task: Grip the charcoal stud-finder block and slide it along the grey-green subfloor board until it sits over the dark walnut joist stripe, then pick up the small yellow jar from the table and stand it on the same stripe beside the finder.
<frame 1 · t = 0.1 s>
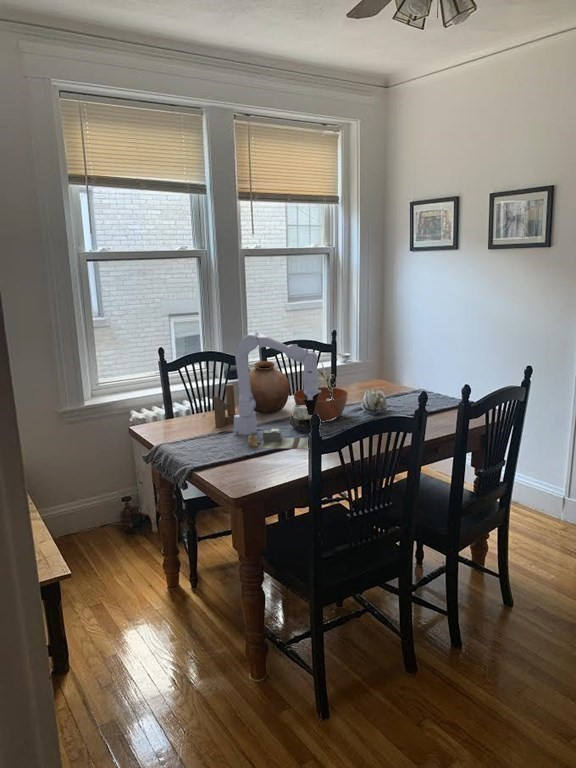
hand: (311, 412, 239), 10 cm above the table, tool pointing down, fingers open, 7 cm apart
bowl: (321, 418, 265), on the table
wooden block: (226, 424, 261), on the table
pottery: (266, 412, 276), on the table
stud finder: (272, 440, 233), point 1 cm above the table, touching subfloor board
subfloor board: (286, 445, 230), on the table
small yellow jar: (253, 448, 228), on the table
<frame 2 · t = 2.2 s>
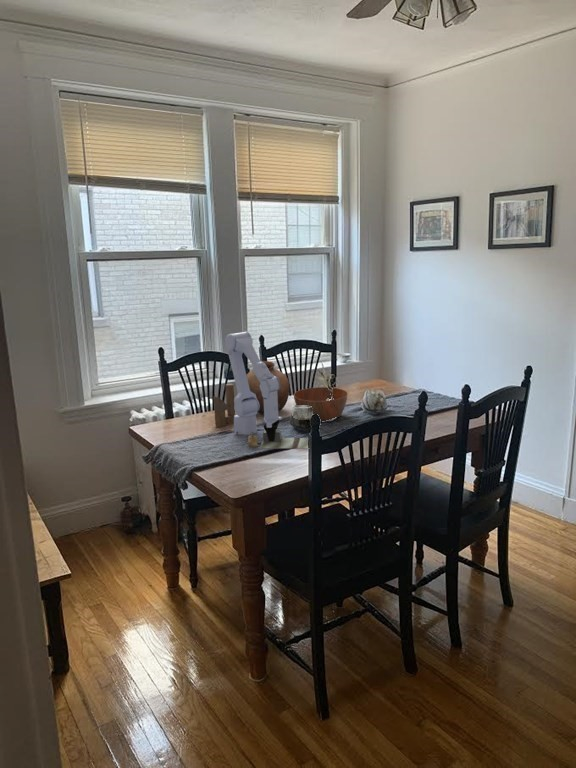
hand: (272, 438, 233), 2 cm above the table, tool pointing down, fingers closed on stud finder, 4 cm apart
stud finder: (272, 440, 233), point 1 cm above the table, touching gripper, subfloor board
everything else where it was.
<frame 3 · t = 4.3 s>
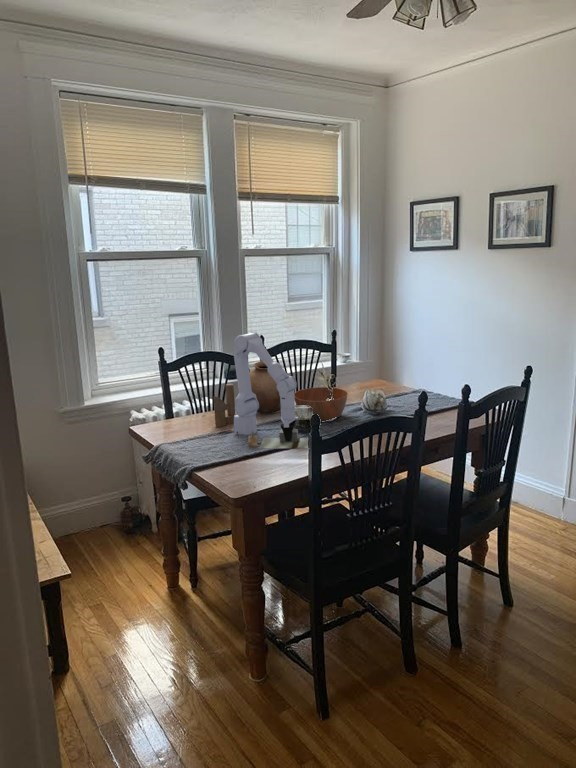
hand: (289, 438, 232), 2 cm above the table, tool pointing down, fingers closed on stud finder, 4 cm apart
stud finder: (289, 440, 232), point 1 cm above the table, touching gripper
everything else where it was.
when the fingers open (2 cm above the table, at t = 6.4 s): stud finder stays where it is, resting on subfloor board.
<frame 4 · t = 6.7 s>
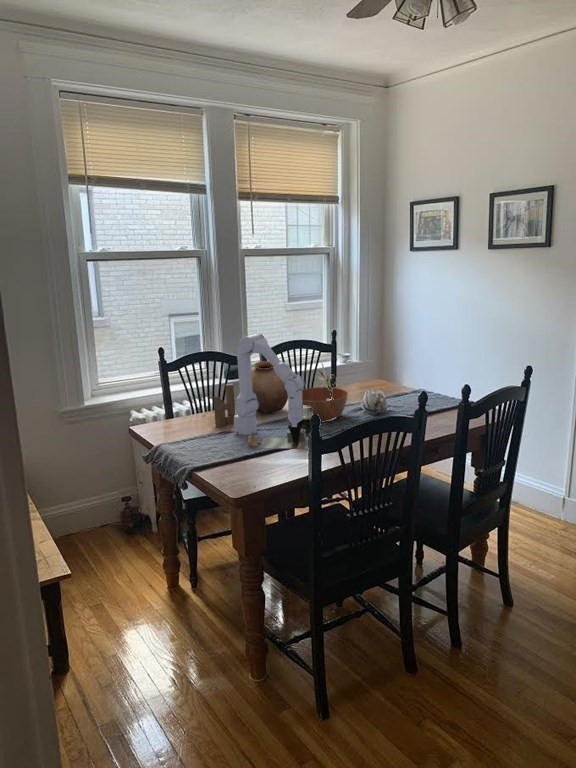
hand: (296, 438, 232), 2 cm above the table, tool pointing down, fingers open, 7 cm apart
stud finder: (296, 440, 232), point 1 cm above the table, touching subfloor board
everything else where it was.
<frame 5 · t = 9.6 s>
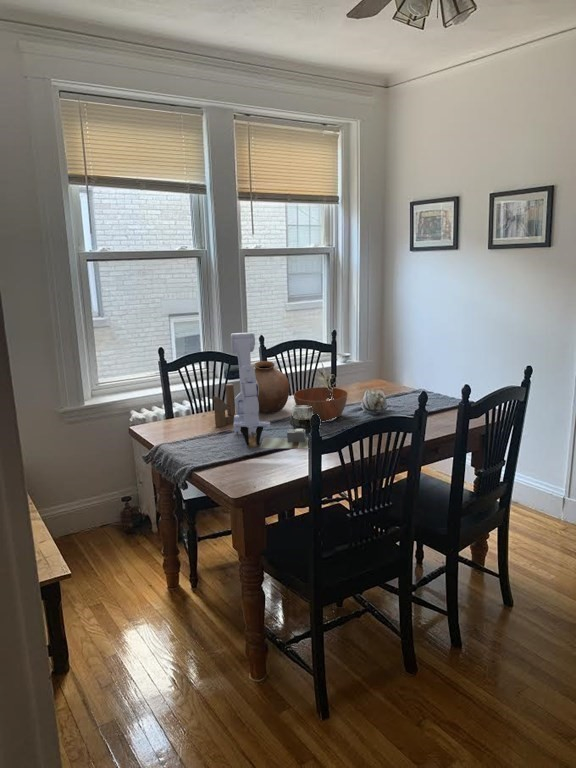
hand: (253, 444, 228), 2 cm above the table, tool pointing down, fingers closed on small yellow jar, 4 cm apart
small yellow jar: (253, 448, 228), on the table, touching gripper
everything else where it was.
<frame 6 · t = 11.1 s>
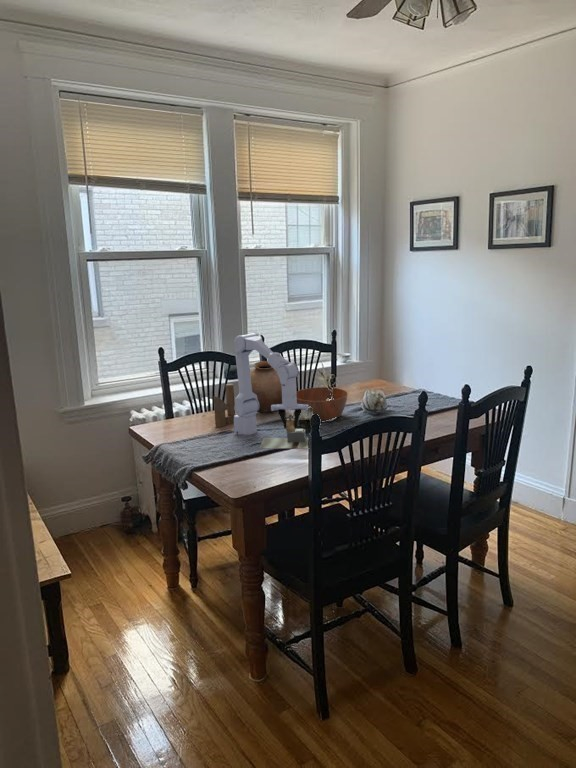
hand: (290, 427, 224), 9 cm above the table, tool pointing down, fingers closed on small yellow jar, 4 cm apart
small yellow jar: (290, 432, 224), point 7 cm above the table, touching gripper
everything else where it was.
when the fingers open (4 cm above the table, at t = 12.5 s): small yellow jar stays where it is, resting on subfloor board.
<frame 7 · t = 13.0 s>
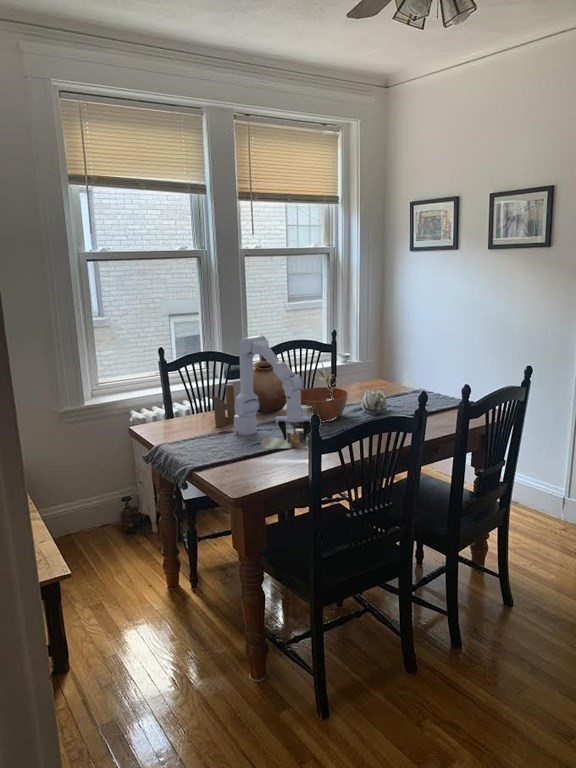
hand: (295, 439, 225), 4 cm above the table, tool pointing down, fingers open, 7 cm apart
small yellow jar: (295, 445, 226), point 1 cm above the table, touching subfloor board
everything else where it was.
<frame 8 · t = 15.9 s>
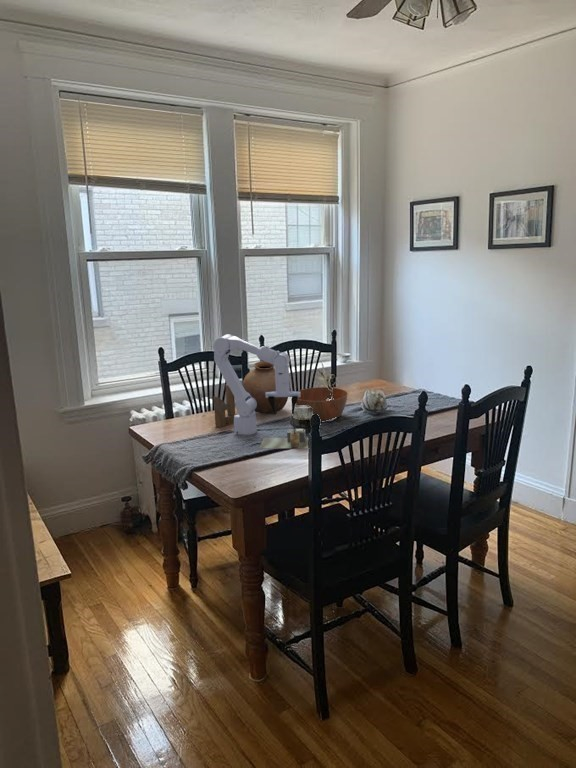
hand: (283, 413, 239), 10 cm above the table, tool pointing down, fingers open, 7 cm apart
nothing on the table moved.
at the end: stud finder 0.2 cm from the target spot, point 1.2 cm above the table; small yellow jar 0.2 cm from the target spot, point 1.2 cm above the table; small yellow jar tilted 0° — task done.
